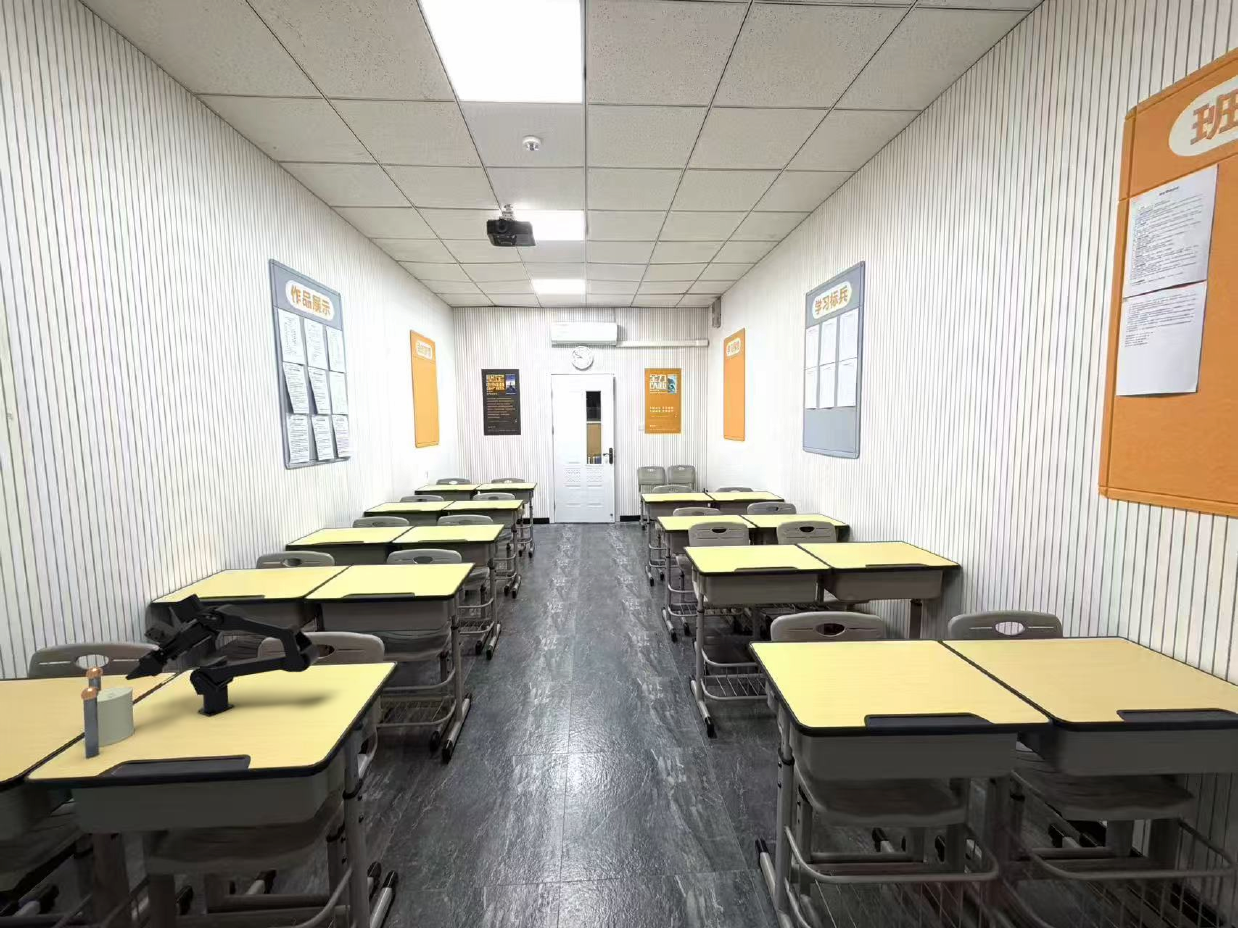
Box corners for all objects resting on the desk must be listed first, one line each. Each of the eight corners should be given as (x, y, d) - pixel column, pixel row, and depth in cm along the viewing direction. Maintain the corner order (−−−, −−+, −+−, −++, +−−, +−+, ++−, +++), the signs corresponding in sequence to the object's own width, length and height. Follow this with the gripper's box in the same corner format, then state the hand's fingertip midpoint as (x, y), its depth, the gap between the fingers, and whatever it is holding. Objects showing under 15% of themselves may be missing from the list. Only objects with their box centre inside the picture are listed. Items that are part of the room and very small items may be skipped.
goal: (101, 755, 132) (98, 687, 132) (82, 760, 130) (80, 691, 129) (105, 725, 147) (102, 663, 147) (88, 729, 145) (86, 667, 145)
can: (92, 751, 134) (90, 703, 134) (80, 741, 139) (78, 694, 139) (140, 734, 142) (138, 688, 142) (127, 725, 147) (125, 681, 146)
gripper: (186, 604, 160) (132, 636, 157) (156, 626, 143) (94, 663, 139) (211, 632, 163) (158, 665, 159) (184, 658, 145) (125, 695, 142)
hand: (135, 671), depth 150 cm, fingers open, 9 cm apart
